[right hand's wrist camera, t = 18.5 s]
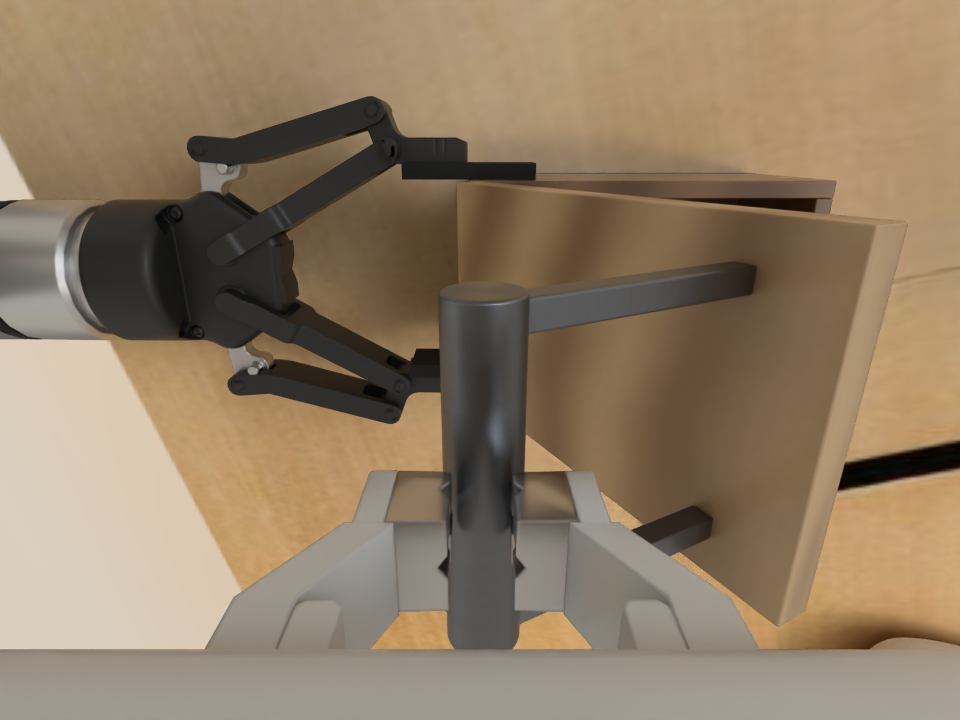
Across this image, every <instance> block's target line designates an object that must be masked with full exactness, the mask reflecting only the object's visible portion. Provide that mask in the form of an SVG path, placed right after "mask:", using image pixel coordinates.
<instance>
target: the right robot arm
mask: <svg viewBox="0 0 960 720" xmlns="http://www.w3.org/2000/svg"><path fill="white" fill-rule="evenodd" d="M510 496H511V509H512V511H511V512H510V558H511V564H512V565H513V566H512V585H513V596H514V608H515V611H550V612H564V615H565V616H566V617H567V619H568V620H569V621H570V622H571V623H572V624H573V626H574V627H575V628H576V629H577V630H578V632H579V633H580V634H581V635H582V636H583V638H584V639H585V640H586V641H587V642H588V643H589V645H590V646H591V647H592V648H593V649H568V650H535V649H371V648H372V646H373V645H374V644H375V643H376V642H377V640H378V639H379V638H380V637H381V636H382V634H383V633H384V632H385V631H386V630H387V629H388V627H389V626H390V625H391V624H392V623H393V621H394V620H395V619H396V618H397V617H398V615H399V612H413V611H447V610H448V608H449V595H450V582H451V579H450V565H451V564H452V550H453V512H452V511H451V506H452V473H451V472H433V471H399V472H398V471H397V470H394V471H372V472H370V473H369V475H368V478H367V481H366V484H365V487H364V489H363V492H362V495H361V498H360V501H359V504H358V507H357V509H356V512H355V515H354V518H353V521H352V522H344V523H343V524H341V525H340V526H338V527H337V528H335V529H334V530H332V531H331V532H329V533H328V534H326V535H325V536H323V537H322V538H320V539H319V540H318V541H316V542H315V543H313V544H312V545H310V546H309V547H307V548H306V549H304V550H303V551H301V552H300V553H298V554H297V555H295V556H294V557H292V558H291V559H289V560H288V561H286V562H285V563H284V564H282V565H281V566H279V567H278V568H276V569H275V570H273V571H272V572H270V573H269V574H267V575H266V576H264V577H263V578H261V579H260V580H258V581H257V582H255V583H254V584H252V585H251V586H249V587H248V588H247V589H245V590H244V591H242V592H241V593H239V594H238V595H236V596H235V597H234V598H233V599H232V601H231V603H230V605H229V607H228V608H227V610H226V612H225V614H224V616H223V617H222V619H221V621H220V623H219V624H218V626H217V628H216V630H215V632H214V633H213V635H212V637H211V639H210V641H209V642H208V644H207V646H206V648H205V649H0V720H960V650H882V649H759V647H758V645H757V643H756V642H755V640H754V638H753V636H752V634H751V633H750V631H749V629H748V627H747V626H746V624H745V622H744V620H743V618H742V617H741V615H740V613H739V611H738V610H737V608H736V606H735V604H734V602H733V601H732V599H731V598H730V597H729V596H727V595H726V594H724V593H723V592H721V591H720V590H718V589H717V588H715V587H714V586H712V585H711V584H710V583H708V582H707V581H705V580H704V579H702V578H701V577H699V576H698V575H696V574H695V573H693V572H692V571H690V570H689V569H687V568H686V567H684V566H683V565H681V564H680V563H678V562H677V561H675V560H674V559H672V558H671V557H670V556H668V555H667V554H665V553H664V552H662V551H661V550H659V549H658V548H656V547H655V546H653V545H652V544H650V543H649V542H647V541H646V540H644V539H643V538H641V537H640V536H638V535H637V534H635V533H634V532H632V531H631V530H629V529H628V528H627V527H625V526H624V525H622V524H621V523H619V522H611V520H610V518H609V515H608V512H607V509H606V507H605V504H604V501H603V498H602V496H601V493H600V490H599V487H598V485H597V482H596V479H595V476H594V474H593V472H592V471H590V470H583V471H555V472H515V473H511V483H510Z"/></svg>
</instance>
